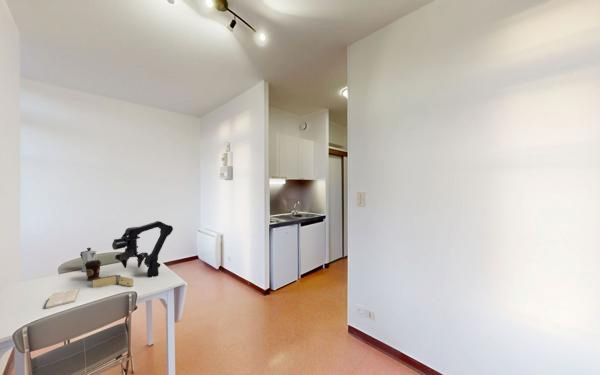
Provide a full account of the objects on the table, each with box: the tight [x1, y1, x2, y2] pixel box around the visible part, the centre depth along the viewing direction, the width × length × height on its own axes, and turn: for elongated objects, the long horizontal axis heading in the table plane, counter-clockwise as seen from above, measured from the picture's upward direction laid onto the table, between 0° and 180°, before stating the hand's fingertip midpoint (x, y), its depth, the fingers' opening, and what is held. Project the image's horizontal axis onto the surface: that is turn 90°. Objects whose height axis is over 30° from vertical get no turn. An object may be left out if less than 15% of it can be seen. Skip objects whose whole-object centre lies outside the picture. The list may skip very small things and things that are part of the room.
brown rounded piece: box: [85, 259, 102, 281], centre depth 160 cm, size 9×8×13 cm
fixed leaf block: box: [92, 274, 118, 289], centre depth 152 cm, size 12×4×5 cm, turn 118°
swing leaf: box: [115, 274, 134, 287], centre depth 151 cm, size 15×3×6 cm, turn 73°
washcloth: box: [45, 288, 80, 309], centre depth 133 cm, size 12×18×3 cm, turn 40°
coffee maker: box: [80, 247, 97, 273], centre depth 176 cm, size 15×9×18 cm, turn 77°
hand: (132, 267), depth 155 cm, fingers open, 9 cm apart
